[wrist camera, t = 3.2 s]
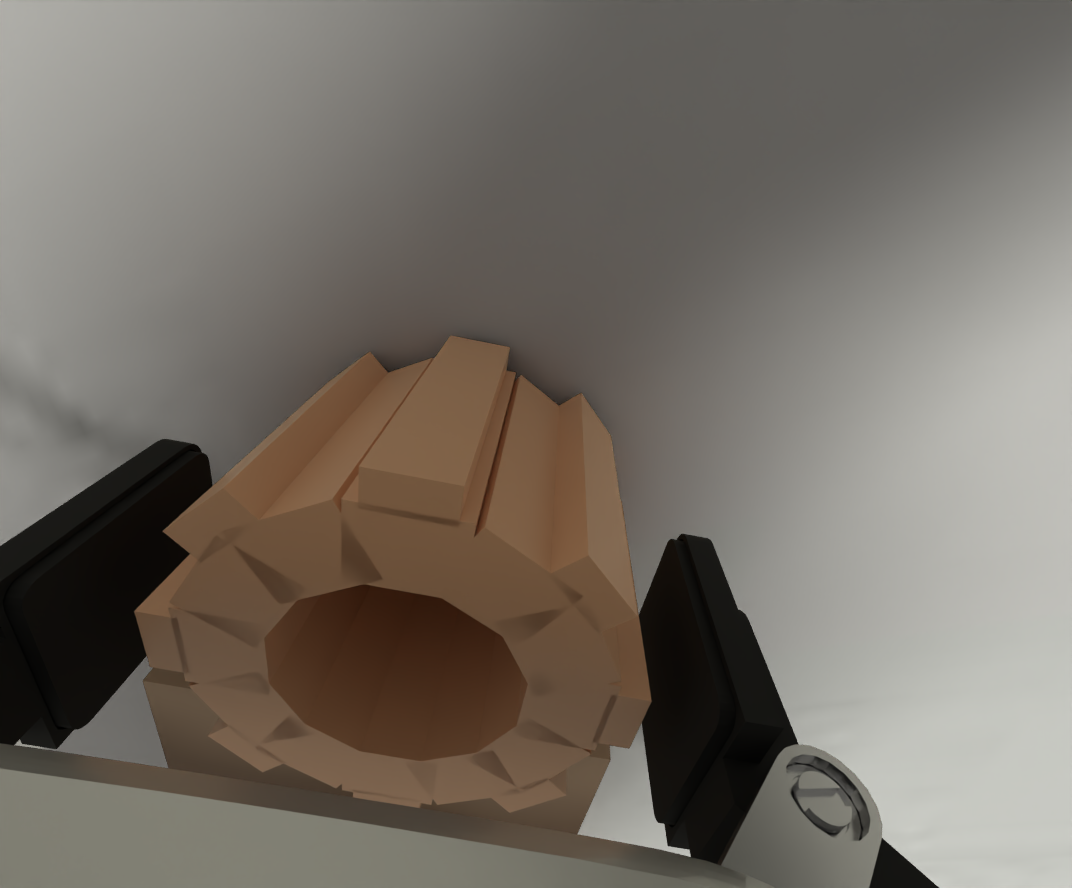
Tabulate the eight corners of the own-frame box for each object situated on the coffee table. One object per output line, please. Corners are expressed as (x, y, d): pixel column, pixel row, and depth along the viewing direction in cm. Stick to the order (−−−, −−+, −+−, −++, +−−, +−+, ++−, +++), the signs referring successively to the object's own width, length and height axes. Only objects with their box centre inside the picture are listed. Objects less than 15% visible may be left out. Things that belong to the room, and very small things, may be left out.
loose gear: (293, 304, 10) (79, 414, 6) (662, 377, 10) (729, 535, 6) (307, 580, 14) (181, 779, 9) (579, 629, 14) (584, 844, 9)
